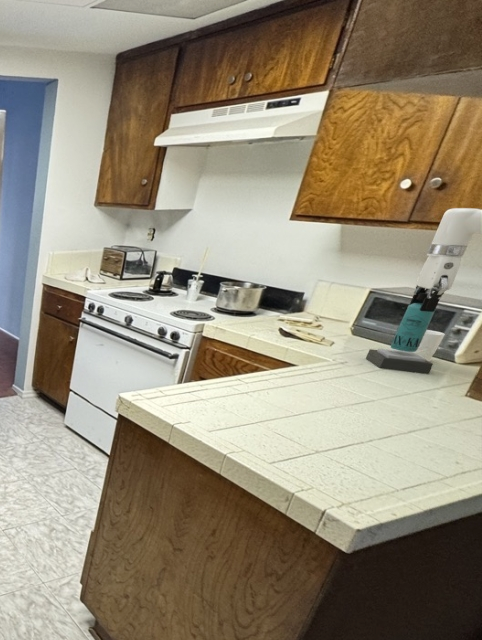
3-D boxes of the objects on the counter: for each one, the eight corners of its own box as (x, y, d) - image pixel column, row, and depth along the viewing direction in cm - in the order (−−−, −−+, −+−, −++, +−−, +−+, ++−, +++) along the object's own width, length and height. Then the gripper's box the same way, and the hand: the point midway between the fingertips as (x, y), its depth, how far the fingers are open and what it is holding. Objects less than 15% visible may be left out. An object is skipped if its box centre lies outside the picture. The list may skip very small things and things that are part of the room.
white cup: (417, 356, 168) (429, 329, 164) (438, 363, 161) (452, 335, 157) (393, 355, 169) (405, 328, 165) (413, 362, 161) (426, 334, 158)
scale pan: (410, 356, 158) (412, 352, 157) (424, 363, 151) (426, 359, 150) (376, 352, 162) (377, 348, 161) (387, 359, 154) (389, 355, 154)
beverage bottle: (386, 349, 160) (411, 290, 152) (414, 353, 156) (440, 293, 149) (388, 353, 155) (414, 293, 148) (417, 357, 151) (445, 295, 144)
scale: (411, 363, 160) (415, 354, 158) (428, 374, 150) (433, 363, 148) (365, 358, 165) (369, 349, 163) (379, 368, 155) (383, 358, 153)
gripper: (480, 254, 135) (451, 315, 141) (447, 249, 149) (423, 305, 156) (444, 252, 138) (418, 312, 144) (416, 248, 152) (393, 303, 159)
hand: (421, 308), depth 150 cm, fingers closed on beverage bottle, 6 cm apart
